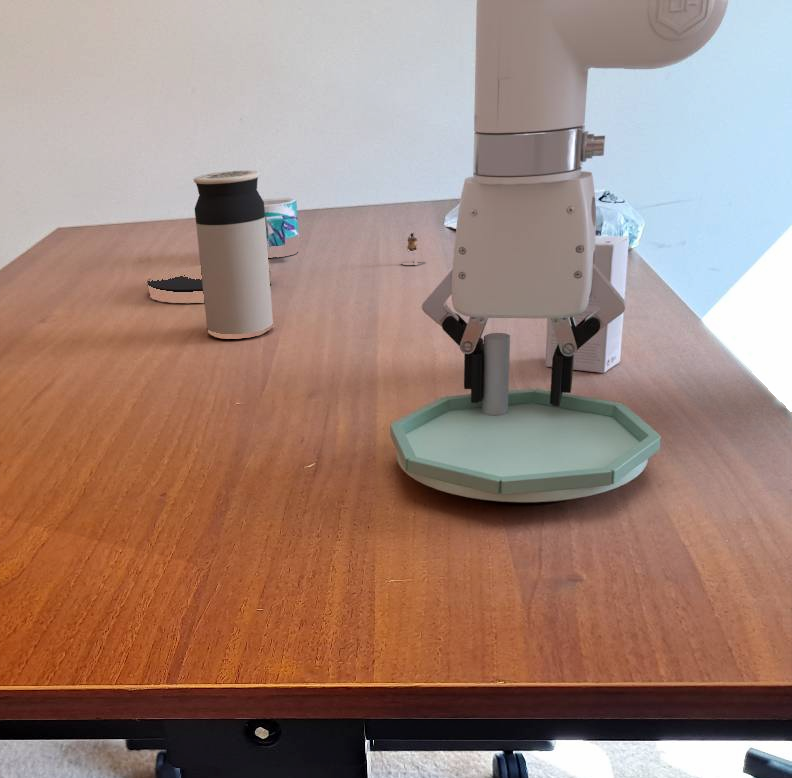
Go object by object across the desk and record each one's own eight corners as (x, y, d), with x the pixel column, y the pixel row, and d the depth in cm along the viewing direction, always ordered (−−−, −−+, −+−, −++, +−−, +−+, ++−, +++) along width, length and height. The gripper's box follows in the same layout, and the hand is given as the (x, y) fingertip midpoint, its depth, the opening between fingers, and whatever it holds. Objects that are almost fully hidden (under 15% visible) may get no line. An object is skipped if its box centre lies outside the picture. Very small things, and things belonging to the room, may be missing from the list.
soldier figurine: (421, 263, 145) (421, 232, 143) (416, 264, 144) (416, 234, 142) (410, 262, 147) (409, 231, 145) (405, 263, 146) (404, 233, 144)
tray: (597, 403, 80) (603, 319, 77) (691, 489, 64) (704, 387, 61) (380, 422, 81) (377, 339, 78) (419, 513, 64) (418, 413, 61)
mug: (297, 247, 165) (294, 196, 162) (304, 260, 155) (301, 205, 151) (249, 252, 165) (244, 200, 162) (253, 265, 155) (248, 210, 151)
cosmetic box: (621, 362, 95) (632, 235, 89) (603, 374, 92) (614, 244, 86) (561, 355, 98) (568, 233, 93) (542, 367, 95) (549, 241, 90)
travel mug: (285, 326, 118) (275, 169, 110) (250, 343, 113) (235, 179, 105) (232, 322, 122) (217, 170, 115) (194, 338, 117) (177, 180, 109)
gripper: (656, 145, 70) (632, 388, 78) (419, 156, 76) (419, 381, 84) (655, 157, 63) (630, 420, 71) (397, 168, 69) (400, 410, 77)
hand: (516, 397), depth 77 cm, fingers open, 5 cm apart
